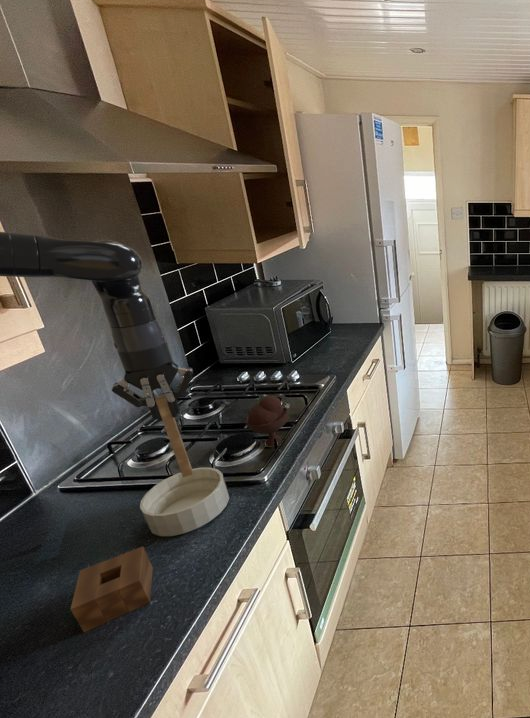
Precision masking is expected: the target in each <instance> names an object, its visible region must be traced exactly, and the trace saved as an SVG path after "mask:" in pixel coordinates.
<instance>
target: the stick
mask: <svg viewBox="0 0 530 718" xmlns="http://www.w3.org/2000/svg"><path fill="white" fill-rule="evenodd" d="M155 401H156V404H157V406H158V409H159V412H160V414H161V417H162V423H163V427H164V430H165V432H166V435H167V437H168V439H169V442H170V446H171V448H172V452H173V454H174V458H175V460H176V463H177V465H178V468H179V471H180V473H181V474H182V476H183V477H186V476H189V475H192V474H193V470H192V469H193V467H192V464H191V462H190V459H189V455H188V453H187V450H186V446H185V444H184V441H183V438H182V435H181V432H180V429H179V427H178V424H177V421H176V417H174V418H173V417H172V415H171V412H170V409H169V406H168V400H167V398H166V396H165V394H160V395H157V396H155Z"/></svg>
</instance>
